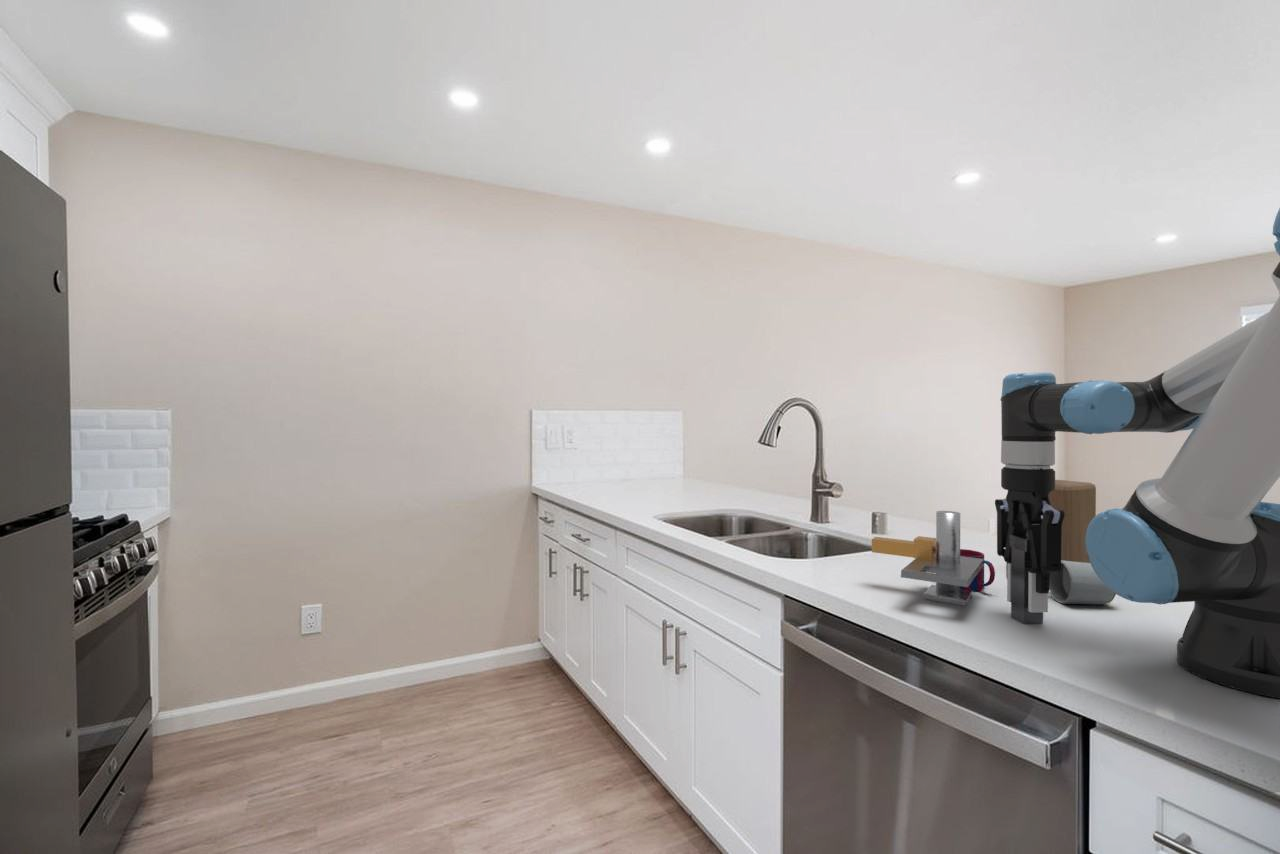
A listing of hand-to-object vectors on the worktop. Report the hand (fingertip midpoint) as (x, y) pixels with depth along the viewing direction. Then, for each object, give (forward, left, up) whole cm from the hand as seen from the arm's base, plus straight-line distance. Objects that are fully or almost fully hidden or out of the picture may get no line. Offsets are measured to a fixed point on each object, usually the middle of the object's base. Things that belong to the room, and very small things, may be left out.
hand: (1026, 606), depth 99 cm
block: (+26, -25, -3) cm, 36 cm away
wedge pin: (0, 0, -2) cm, 2 cm away
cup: (+18, -2, -3) cm, 18 cm away
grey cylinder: (+10, -16, -3) cm, 19 cm away
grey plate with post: (+13, +12, -2) cm, 17 cm away
